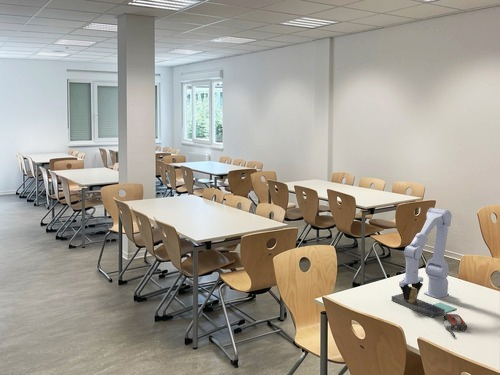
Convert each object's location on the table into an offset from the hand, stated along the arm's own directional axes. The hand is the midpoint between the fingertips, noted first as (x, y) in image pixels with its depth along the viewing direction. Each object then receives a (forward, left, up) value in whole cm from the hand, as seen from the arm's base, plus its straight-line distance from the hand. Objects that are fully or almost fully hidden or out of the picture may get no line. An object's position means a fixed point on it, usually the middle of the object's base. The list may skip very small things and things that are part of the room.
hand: (410, 298), depth 232 cm
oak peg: (0, 0, -3) cm, 3 cm away
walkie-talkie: (+5, +28, -4) cm, 29 cm away
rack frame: (0, +4, -3) cm, 5 cm away
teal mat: (-9, +11, -3) cm, 15 cm away
